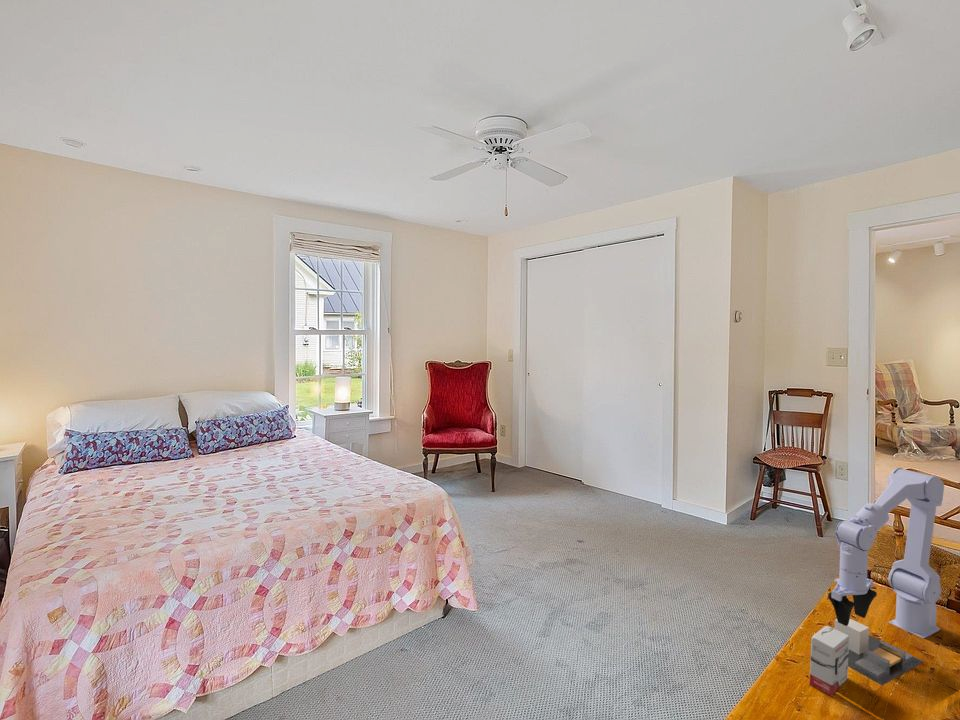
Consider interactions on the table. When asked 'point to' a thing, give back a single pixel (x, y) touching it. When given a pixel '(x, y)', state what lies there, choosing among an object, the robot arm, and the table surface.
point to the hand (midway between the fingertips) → (851, 619)
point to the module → (855, 635)
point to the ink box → (829, 659)
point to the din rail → (881, 662)
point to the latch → (887, 656)
